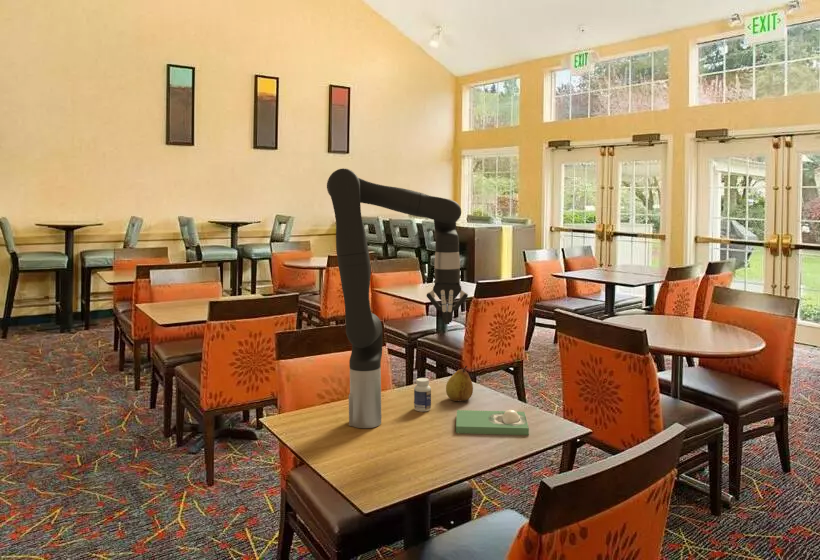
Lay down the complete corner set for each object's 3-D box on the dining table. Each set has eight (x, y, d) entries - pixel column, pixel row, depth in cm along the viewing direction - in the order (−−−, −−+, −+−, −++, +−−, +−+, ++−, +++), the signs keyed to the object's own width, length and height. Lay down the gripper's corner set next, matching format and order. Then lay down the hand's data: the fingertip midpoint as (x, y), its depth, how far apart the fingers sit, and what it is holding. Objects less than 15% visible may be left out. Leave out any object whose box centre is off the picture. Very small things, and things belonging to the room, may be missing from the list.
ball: (508, 409, 183) (522, 418, 183) (507, 404, 187) (521, 412, 187) (499, 423, 183) (514, 431, 183) (499, 417, 188) (513, 425, 188)
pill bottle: (429, 412, 198) (429, 382, 197) (412, 411, 199) (412, 381, 198) (432, 407, 203) (432, 377, 202) (416, 406, 204) (415, 376, 203)
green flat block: (456, 433, 180) (456, 426, 180) (456, 416, 194) (456, 410, 194) (529, 435, 178) (529, 428, 178) (524, 418, 192) (524, 411, 192)
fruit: (442, 397, 213) (442, 362, 212) (467, 394, 216) (467, 360, 214) (451, 405, 205) (451, 369, 203) (477, 402, 208) (477, 366, 206)
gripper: (424, 268, 185) (424, 326, 188) (469, 268, 184) (469, 326, 186) (425, 265, 193) (426, 321, 195) (469, 265, 192) (469, 321, 194)
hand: (447, 323), depth 191 cm, fingers closed
